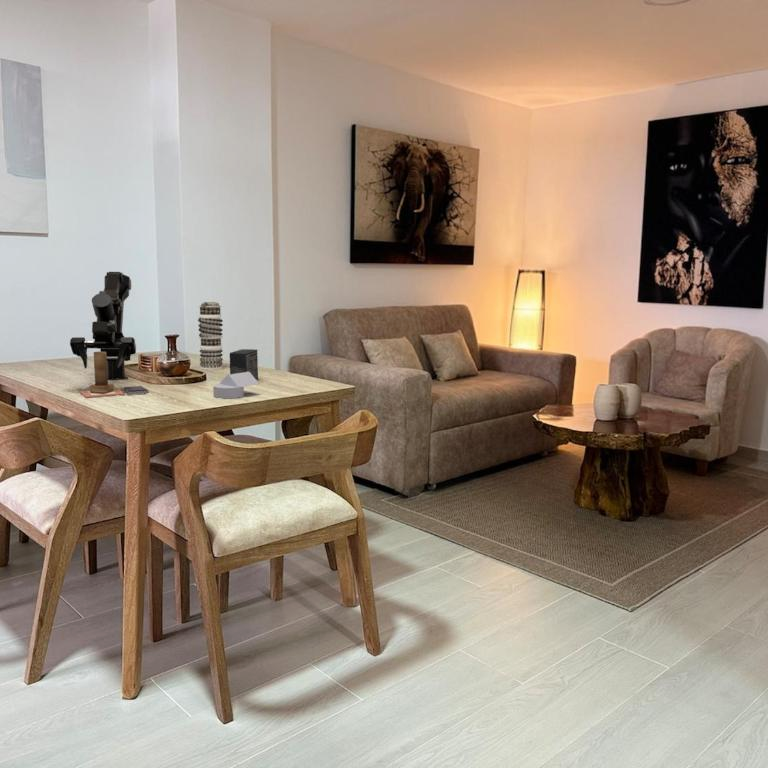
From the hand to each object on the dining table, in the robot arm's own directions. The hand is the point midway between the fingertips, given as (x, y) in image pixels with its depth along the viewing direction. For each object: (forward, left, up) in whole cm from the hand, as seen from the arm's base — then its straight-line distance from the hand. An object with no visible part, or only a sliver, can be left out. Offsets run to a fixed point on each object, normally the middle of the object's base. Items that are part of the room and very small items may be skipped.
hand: (101, 367), depth 222 cm
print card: (+1, -1, -8) cm, 8 cm away
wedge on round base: (+22, +34, -8) cm, 41 cm away
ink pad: (+4, +9, -8) cm, 13 cm away
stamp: (+1, 0, -7) cm, 8 cm away
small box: (-2, +47, -8) cm, 48 cm away
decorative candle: (-35, +47, -8) cm, 59 cm away
